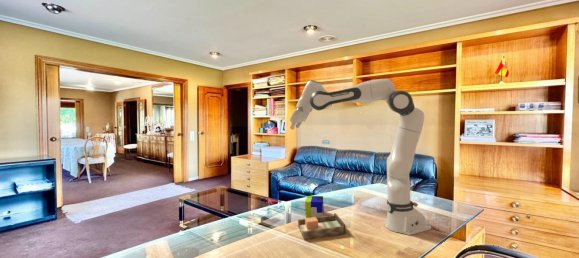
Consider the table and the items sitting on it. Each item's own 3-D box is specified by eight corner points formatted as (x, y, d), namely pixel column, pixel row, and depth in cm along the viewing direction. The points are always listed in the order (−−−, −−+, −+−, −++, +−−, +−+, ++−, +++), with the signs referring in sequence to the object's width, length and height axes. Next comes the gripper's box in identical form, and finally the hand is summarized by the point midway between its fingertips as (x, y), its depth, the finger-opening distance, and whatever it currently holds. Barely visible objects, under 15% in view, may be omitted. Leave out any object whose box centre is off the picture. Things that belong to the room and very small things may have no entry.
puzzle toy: (322, 218, 153) (321, 202, 152) (305, 217, 155) (305, 201, 154) (323, 211, 163) (323, 196, 162) (308, 211, 165) (307, 196, 164)
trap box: (336, 221, 147) (335, 213, 147) (345, 234, 132) (345, 224, 132) (298, 226, 144) (297, 217, 144) (303, 239, 129) (303, 230, 129)
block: (316, 224, 140) (315, 216, 140) (318, 228, 135) (318, 220, 135) (305, 225, 139) (304, 218, 139) (307, 229, 134) (306, 222, 134)
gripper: (303, 109, 138) (293, 132, 141) (313, 108, 157) (304, 129, 160) (293, 104, 140) (283, 127, 143) (304, 104, 159) (295, 124, 162)
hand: (294, 128), depth 152 cm, fingers open, 8 cm apart
